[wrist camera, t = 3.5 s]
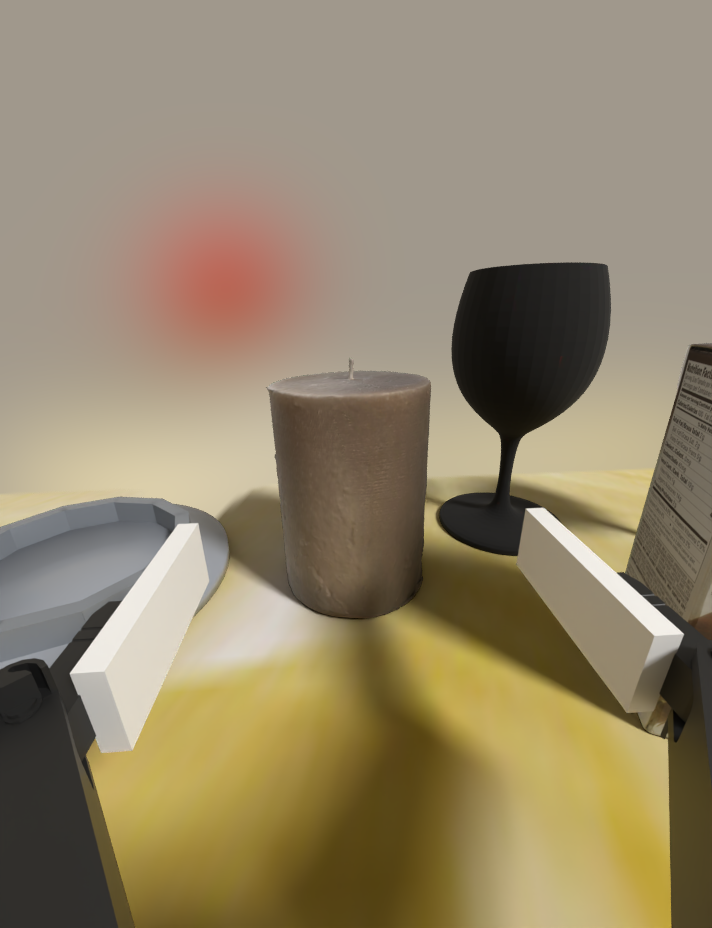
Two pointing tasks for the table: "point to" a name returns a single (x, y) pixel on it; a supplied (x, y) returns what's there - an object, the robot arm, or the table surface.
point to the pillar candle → (352, 487)
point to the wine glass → (522, 372)
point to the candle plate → (86, 567)
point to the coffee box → (680, 513)
